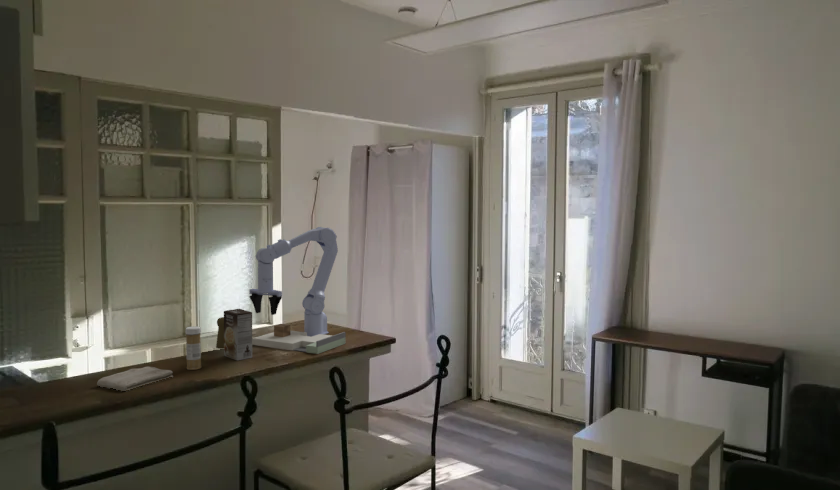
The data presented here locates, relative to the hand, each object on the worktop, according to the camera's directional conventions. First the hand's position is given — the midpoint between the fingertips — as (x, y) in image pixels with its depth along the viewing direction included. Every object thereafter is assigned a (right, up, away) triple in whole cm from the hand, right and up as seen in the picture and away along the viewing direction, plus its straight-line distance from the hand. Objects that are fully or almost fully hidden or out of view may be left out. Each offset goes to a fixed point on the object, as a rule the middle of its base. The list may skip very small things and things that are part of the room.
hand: (265, 313), depth 233 cm
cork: (-12, -11, -11) cm, 20 cm away
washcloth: (-24, -15, -55) cm, 62 cm away
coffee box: (-3, -12, -26) cm, 28 cm away
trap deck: (+14, -11, -6) cm, 19 cm away
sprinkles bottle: (-13, -13, -41) cm, 45 cm away
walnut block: (+7, -8, -3) cm, 11 cm away
